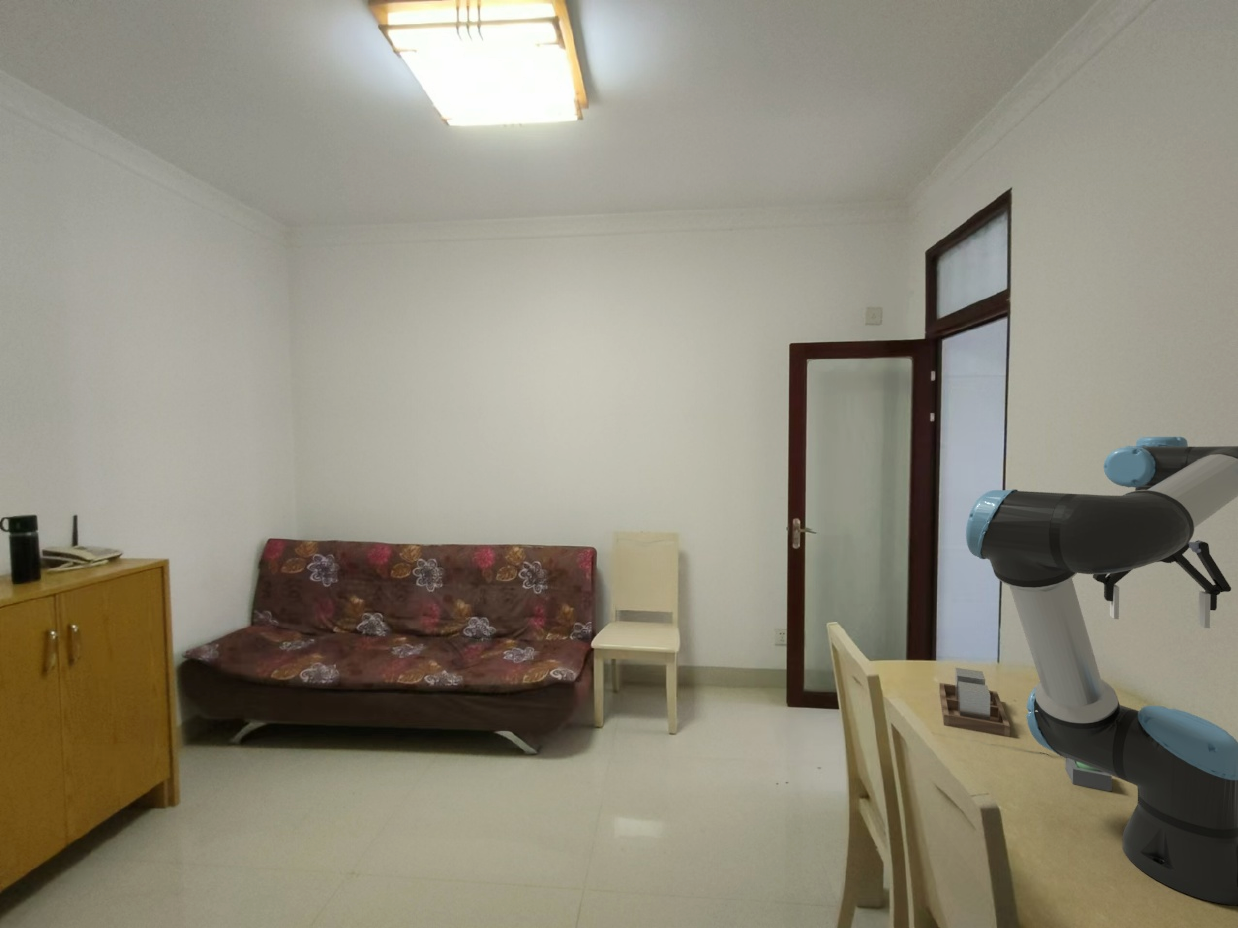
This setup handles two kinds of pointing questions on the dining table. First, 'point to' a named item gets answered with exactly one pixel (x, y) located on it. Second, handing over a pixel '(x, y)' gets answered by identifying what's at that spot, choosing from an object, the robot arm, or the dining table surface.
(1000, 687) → the dining table surface
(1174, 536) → the robot arm
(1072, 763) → the button housing
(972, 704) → the block
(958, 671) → the block
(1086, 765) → the button
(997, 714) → the wooden cubby shelf
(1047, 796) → the dining table surface
